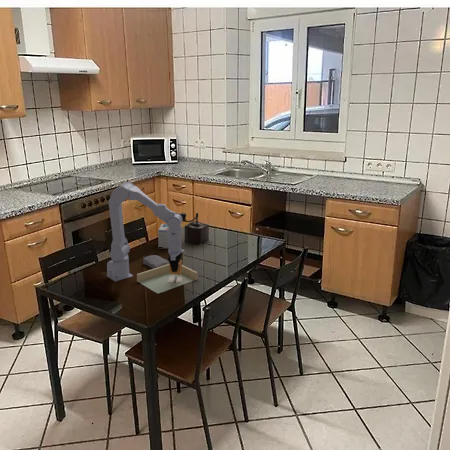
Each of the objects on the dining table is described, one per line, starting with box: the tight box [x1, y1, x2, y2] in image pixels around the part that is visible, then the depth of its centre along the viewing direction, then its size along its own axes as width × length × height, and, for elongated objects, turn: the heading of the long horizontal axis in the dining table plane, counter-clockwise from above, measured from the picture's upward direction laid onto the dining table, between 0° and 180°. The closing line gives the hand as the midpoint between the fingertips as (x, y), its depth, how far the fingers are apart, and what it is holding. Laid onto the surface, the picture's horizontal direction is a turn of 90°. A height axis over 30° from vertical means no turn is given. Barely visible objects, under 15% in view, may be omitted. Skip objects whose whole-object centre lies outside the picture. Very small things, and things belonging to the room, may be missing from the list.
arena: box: [136, 264, 198, 294], centre depth 201 cm, size 22×16×4 cm
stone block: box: [142, 254, 169, 269], centre depth 218 cm, size 12×5×10 cm
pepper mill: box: [179, 212, 210, 246], centre depth 248 cm, size 16×11×18 cm
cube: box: [169, 259, 183, 275], centre depth 200 cm, size 5×5×5 cm
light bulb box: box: [157, 223, 169, 249], centre depth 243 cm, size 11×7×11 cm, turn 178°
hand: (175, 269), depth 200 cm, fingers closed on cube, 5 cm apart
